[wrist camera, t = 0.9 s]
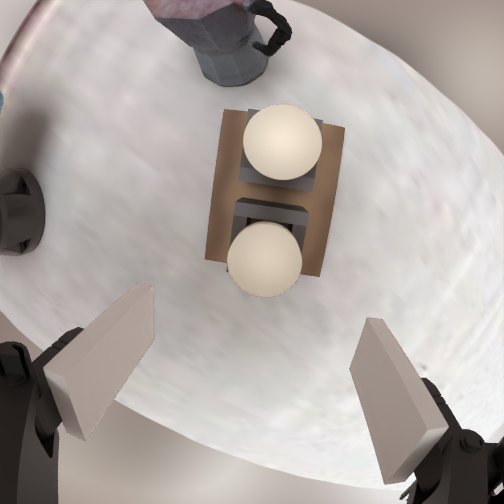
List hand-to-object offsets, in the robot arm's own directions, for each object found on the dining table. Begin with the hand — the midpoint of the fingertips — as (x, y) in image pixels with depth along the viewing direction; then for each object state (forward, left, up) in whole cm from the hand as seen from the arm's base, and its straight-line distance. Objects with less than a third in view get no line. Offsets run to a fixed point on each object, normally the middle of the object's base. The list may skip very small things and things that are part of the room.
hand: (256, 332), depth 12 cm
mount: (0, +4, -25) cm, 26 cm away
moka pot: (-7, +21, -26) cm, 34 cm away
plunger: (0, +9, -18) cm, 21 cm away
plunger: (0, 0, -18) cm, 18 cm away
